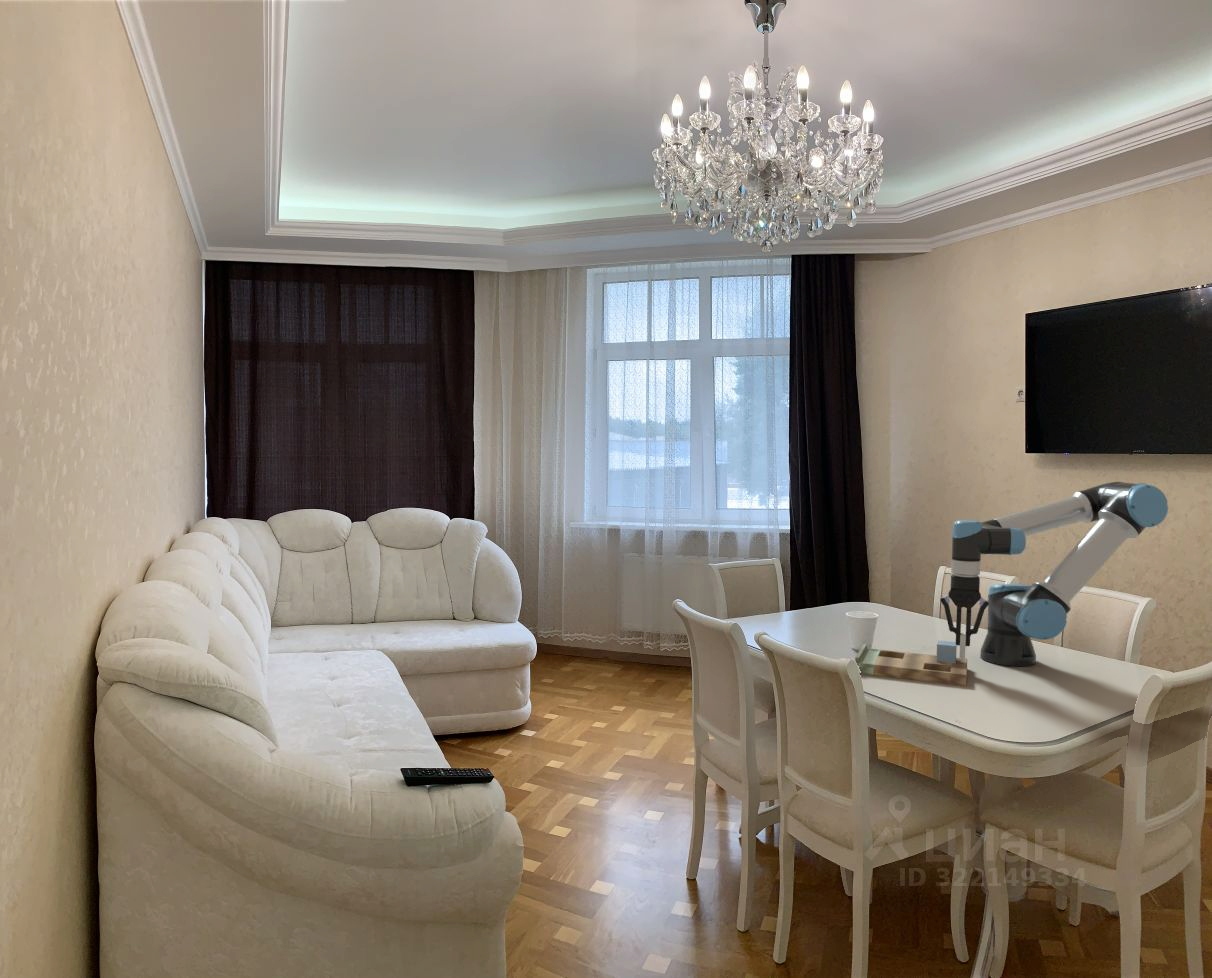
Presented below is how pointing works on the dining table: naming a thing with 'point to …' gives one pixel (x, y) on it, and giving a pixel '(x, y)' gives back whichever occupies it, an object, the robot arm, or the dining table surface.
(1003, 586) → the robot arm
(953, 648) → the block
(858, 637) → the cup
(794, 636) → the dining table surface
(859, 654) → the board
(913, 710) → the dining table surface
